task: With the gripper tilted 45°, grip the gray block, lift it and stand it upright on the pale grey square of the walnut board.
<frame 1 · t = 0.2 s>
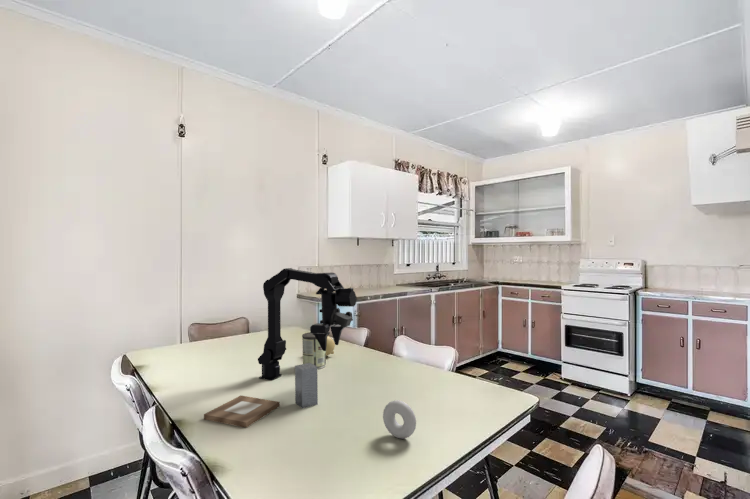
hand: (330, 347, 142), 14 cm above the table, tool pointing down, fingers open, 9 cm apart
walnut board: (243, 412, 119), on the table
toy pig: (323, 356, 183), on the table
gray block: (306, 403, 126), on the table
donut: (399, 438, 102), on the table
coffee can: (314, 366, 167), on the table
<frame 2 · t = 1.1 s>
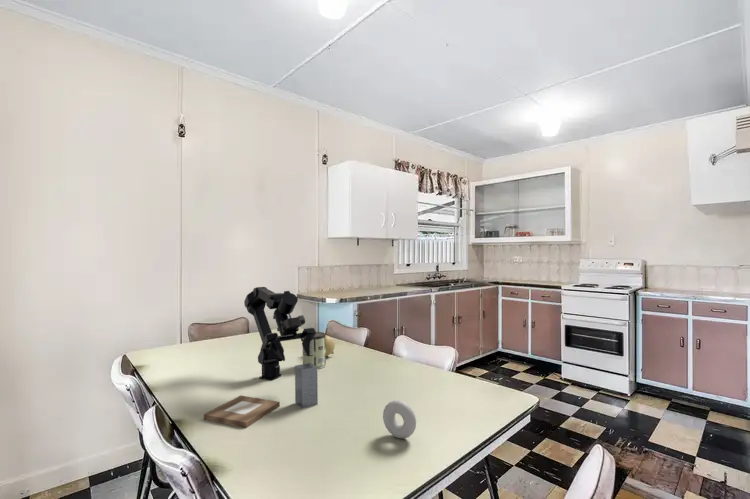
hand: (296, 358, 133), 13 cm above the table, tool tilted 45°, fingers open, 9 cm apart
nothing on the table moved.
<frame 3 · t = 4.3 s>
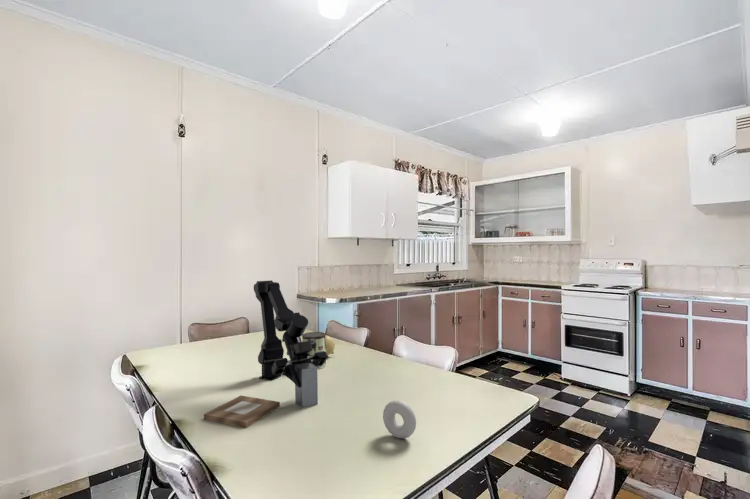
hand: (308, 385, 125), 7 cm above the table, tool tilted 45°, fingers closed on gray block, 5 cm apart
gray block: (306, 403, 126), on the table, touching gripper
everything else where it was.
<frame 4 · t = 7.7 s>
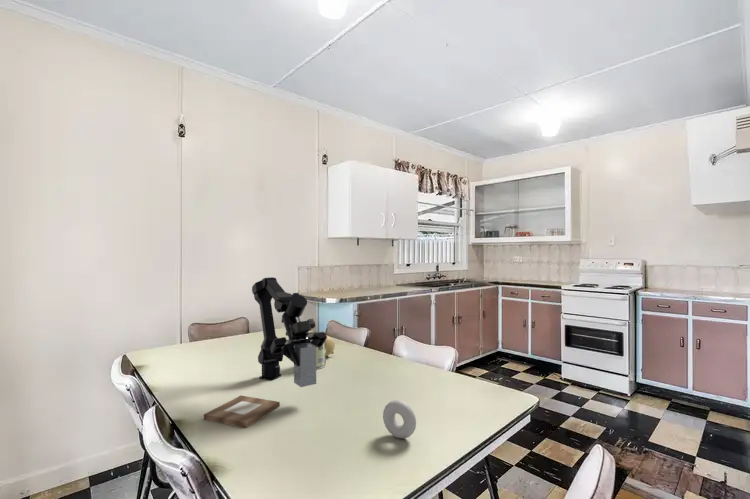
hand: (306, 364, 125), 13 cm above the table, tool tilted 45°, fingers closed on gray block, 5 cm apart
gray block: (305, 383, 126), point 7 cm above the table, touching gripper
everything else where it was.
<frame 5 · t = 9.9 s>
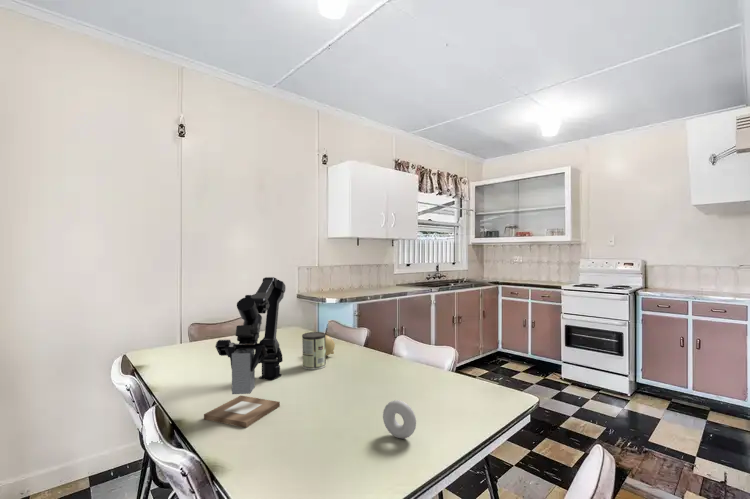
hand: (242, 371, 118), 13 cm above the table, tool tilted 45°, fingers closed on gray block, 5 cm apart
gray block: (243, 390, 119), point 7 cm above the table, touching gripper
everything else where it was.
when the fingers open (9 cm above the table, at t = 11.4 s): gray block stays where it is, resting on walnut board.
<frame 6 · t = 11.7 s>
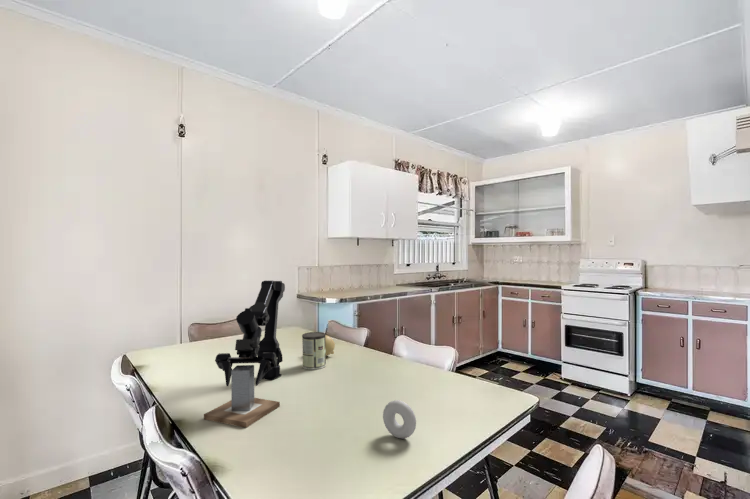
hand: (241, 385, 118), 9 cm above the table, tool tilted 45°, fingers open, 9 cm apart
gray block: (243, 407, 119), point 2 cm above the table, touching walnut board
everything else where it was.
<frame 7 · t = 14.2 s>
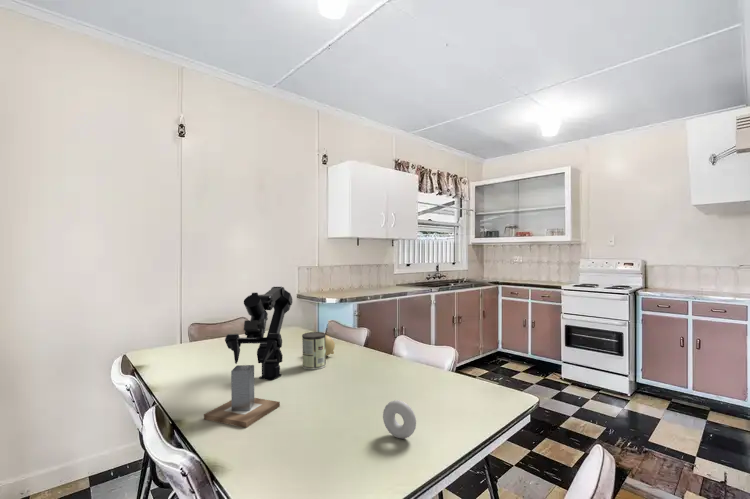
hand: (249, 362, 127), 13 cm above the table, tool tilted 45°, fingers open, 9 cm apart
nothing on the table moved.
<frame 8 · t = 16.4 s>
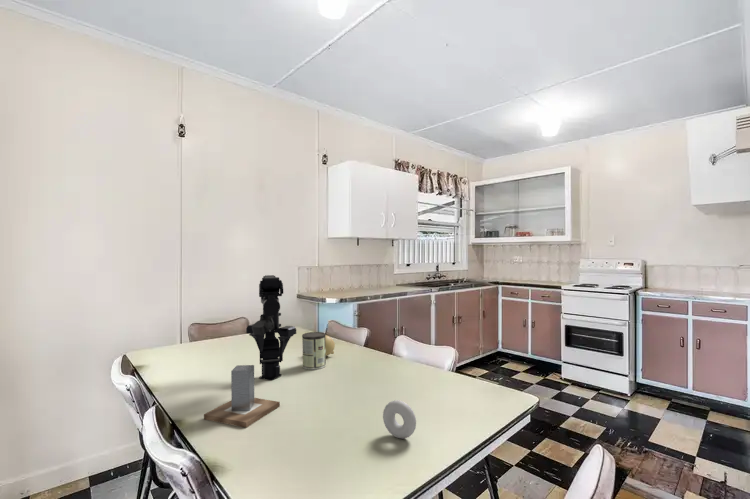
hand: (271, 353, 141), 13 cm above the table, tool pointing down, fingers open, 9 cm apart
nothing on the table moved.
at the end: gray block inside the target area on the walnut board (0.0 cm from its centre), point 1.6 cm above the walnut board's base; gray block tilted 0°; the gripper is holding nothing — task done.
